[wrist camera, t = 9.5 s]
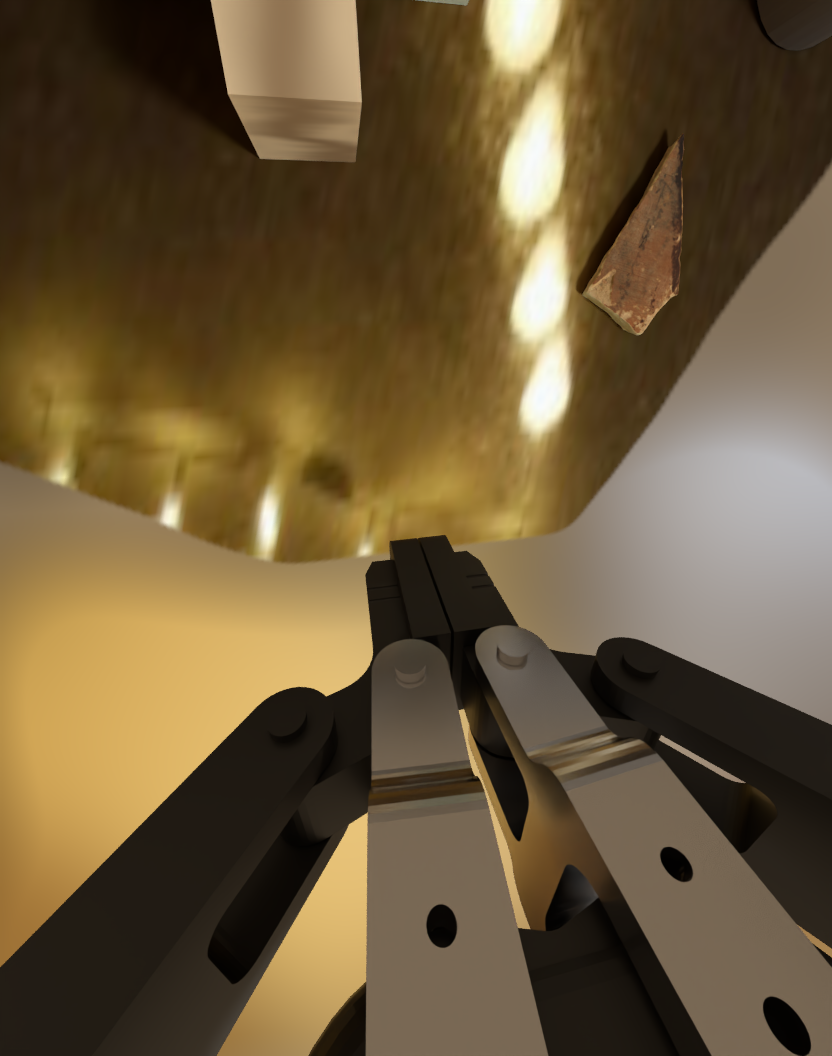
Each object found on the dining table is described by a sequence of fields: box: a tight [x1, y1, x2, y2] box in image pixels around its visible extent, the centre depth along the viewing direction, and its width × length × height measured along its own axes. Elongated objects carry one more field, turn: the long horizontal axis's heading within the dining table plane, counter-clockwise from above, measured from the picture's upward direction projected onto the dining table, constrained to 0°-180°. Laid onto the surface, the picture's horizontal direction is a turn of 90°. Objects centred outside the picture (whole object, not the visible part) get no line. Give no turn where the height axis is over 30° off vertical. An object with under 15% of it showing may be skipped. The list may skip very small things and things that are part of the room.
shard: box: [582, 133, 684, 335], centre depth 30 cm, size 11×8×2 cm
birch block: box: [211, 0, 362, 162], centre depth 19 cm, size 6×7×8 cm
